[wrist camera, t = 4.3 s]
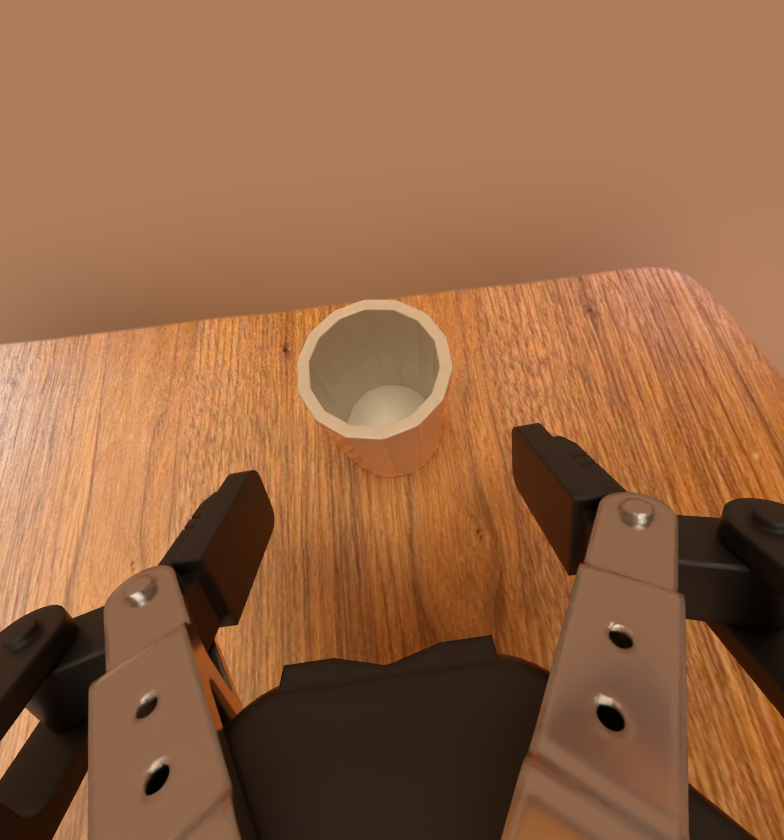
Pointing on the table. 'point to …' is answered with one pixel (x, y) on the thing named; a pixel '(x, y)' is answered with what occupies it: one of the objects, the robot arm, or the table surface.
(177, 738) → the robot arm
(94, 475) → the table surface
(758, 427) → the table surface
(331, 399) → the cup
